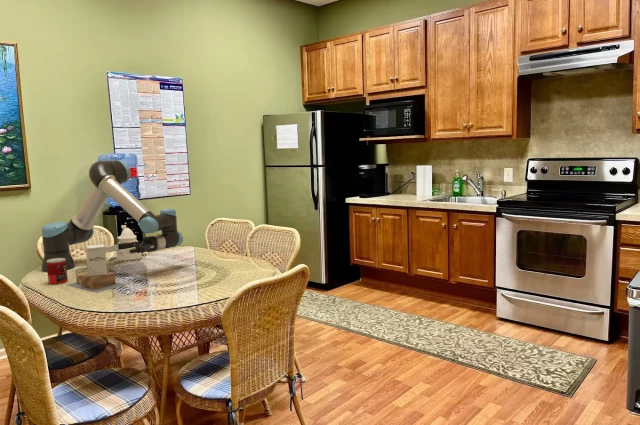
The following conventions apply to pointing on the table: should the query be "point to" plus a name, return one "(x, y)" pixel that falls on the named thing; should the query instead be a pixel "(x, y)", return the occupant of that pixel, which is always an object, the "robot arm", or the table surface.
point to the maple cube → (79, 278)
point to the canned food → (57, 271)
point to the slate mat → (96, 289)
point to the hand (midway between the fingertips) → (113, 251)
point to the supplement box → (96, 260)
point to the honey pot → (126, 238)
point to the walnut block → (97, 281)
